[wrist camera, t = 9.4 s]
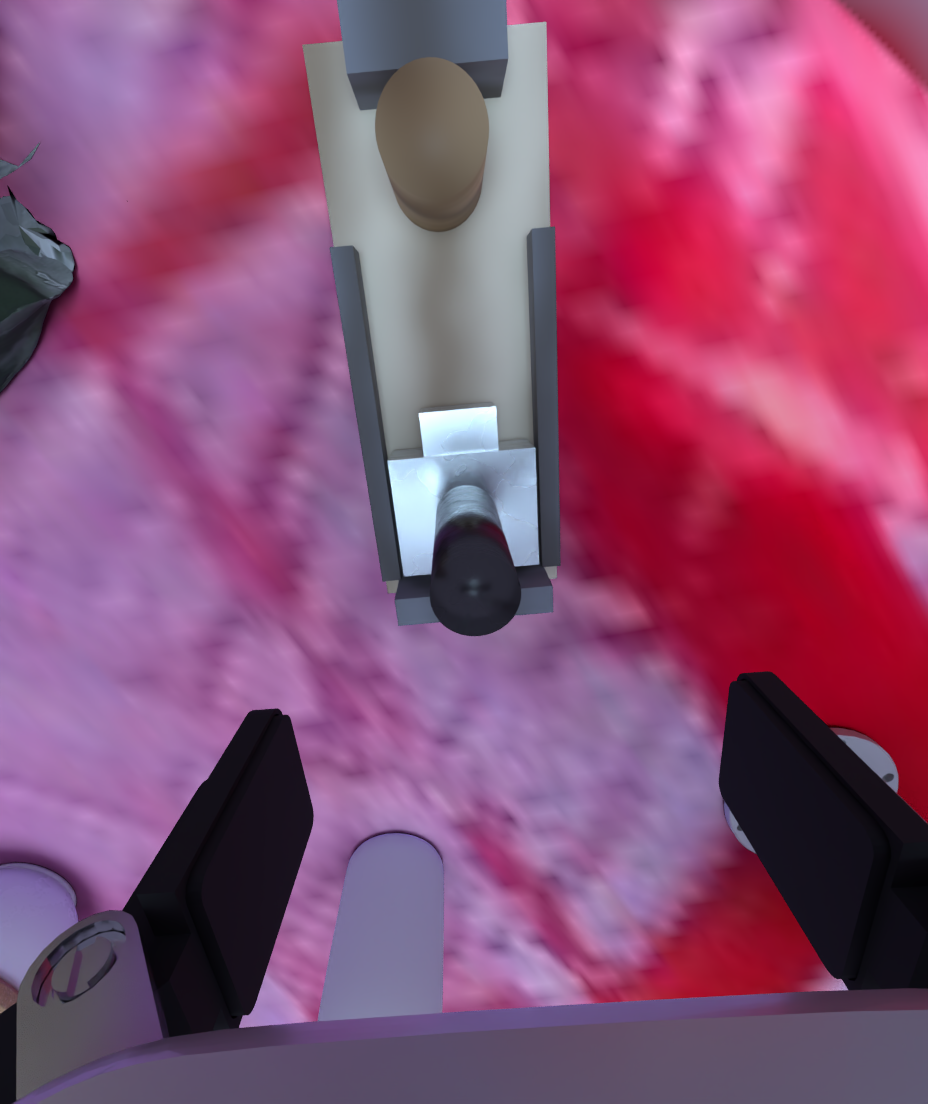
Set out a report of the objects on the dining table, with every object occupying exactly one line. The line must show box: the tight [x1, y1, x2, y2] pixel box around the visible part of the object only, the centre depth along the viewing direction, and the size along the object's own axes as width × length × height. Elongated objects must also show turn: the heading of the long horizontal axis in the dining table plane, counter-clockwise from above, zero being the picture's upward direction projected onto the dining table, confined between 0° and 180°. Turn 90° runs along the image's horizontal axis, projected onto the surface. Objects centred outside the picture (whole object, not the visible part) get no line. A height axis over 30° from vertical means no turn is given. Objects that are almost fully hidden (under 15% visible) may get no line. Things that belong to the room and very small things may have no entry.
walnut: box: [375, 57, 489, 232], centre depth 20 cm, size 4×4×5 cm
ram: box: [388, 402, 539, 636], centre depth 22 cm, size 7×8×12 cm
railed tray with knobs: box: [303, 0, 560, 626], centre depth 24 cm, size 10×25×6 cm, turn 5°
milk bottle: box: [318, 833, 444, 1021], centre depth 31 cm, size 8×8×20 cm
